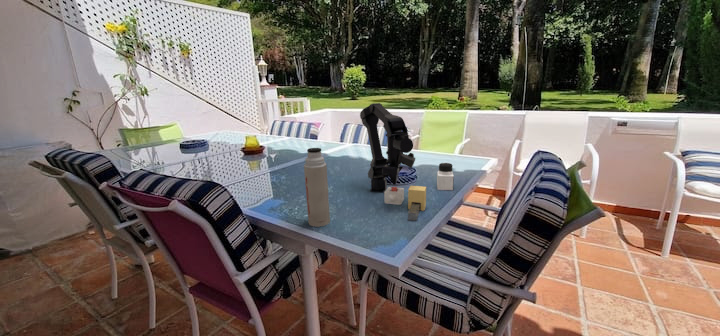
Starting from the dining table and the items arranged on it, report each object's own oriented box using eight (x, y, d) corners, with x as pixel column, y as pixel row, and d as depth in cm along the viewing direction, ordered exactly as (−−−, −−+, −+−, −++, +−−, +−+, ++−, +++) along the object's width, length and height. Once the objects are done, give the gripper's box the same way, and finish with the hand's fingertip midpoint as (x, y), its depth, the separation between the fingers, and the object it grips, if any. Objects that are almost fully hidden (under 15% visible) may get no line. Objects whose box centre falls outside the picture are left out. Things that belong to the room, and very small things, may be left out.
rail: (408, 220, 116) (408, 212, 116) (414, 204, 131) (414, 197, 130) (416, 220, 115) (416, 213, 115) (422, 204, 130) (422, 198, 129)
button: (391, 192, 133) (390, 188, 133) (392, 190, 135) (392, 186, 135) (396, 193, 133) (396, 188, 132) (397, 191, 135) (397, 186, 134)
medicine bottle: (453, 190, 145) (454, 165, 142) (437, 190, 147) (438, 165, 144) (451, 185, 152) (453, 161, 149) (436, 185, 154) (437, 161, 150)
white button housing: (384, 203, 133) (384, 192, 131) (388, 197, 139) (388, 186, 138) (400, 205, 130) (400, 193, 129) (404, 198, 137) (404, 188, 136)
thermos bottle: (307, 227, 113) (301, 151, 106) (309, 218, 121) (303, 147, 113) (329, 226, 114) (325, 150, 106) (330, 217, 121) (325, 145, 114)
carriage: (408, 209, 126) (408, 189, 123) (410, 204, 130) (410, 185, 128) (424, 210, 124) (424, 190, 121) (425, 206, 128) (426, 186, 126)
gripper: (410, 154, 118) (409, 193, 122) (417, 144, 135) (416, 179, 139) (381, 152, 121) (381, 191, 125) (392, 143, 138) (392, 177, 142)
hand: (394, 184), depth 133 cm, fingers closed
